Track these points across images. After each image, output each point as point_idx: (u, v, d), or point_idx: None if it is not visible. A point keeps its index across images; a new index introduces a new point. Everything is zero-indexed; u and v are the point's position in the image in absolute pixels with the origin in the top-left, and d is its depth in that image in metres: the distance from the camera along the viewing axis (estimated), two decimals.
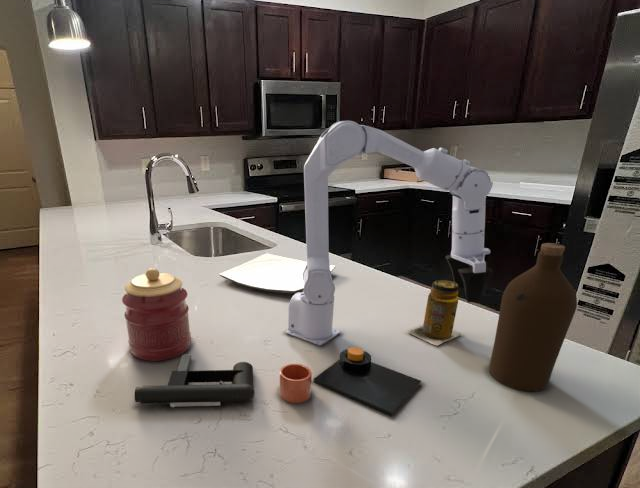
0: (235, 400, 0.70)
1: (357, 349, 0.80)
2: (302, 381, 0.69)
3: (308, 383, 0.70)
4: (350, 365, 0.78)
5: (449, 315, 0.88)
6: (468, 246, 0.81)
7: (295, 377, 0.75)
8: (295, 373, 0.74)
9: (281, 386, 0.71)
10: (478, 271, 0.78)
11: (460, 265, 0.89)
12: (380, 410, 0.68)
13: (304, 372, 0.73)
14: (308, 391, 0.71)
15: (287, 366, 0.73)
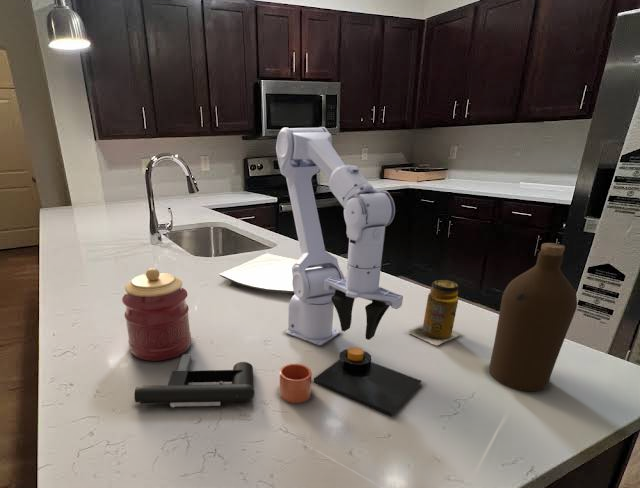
0: (235, 400, 0.70)
1: (357, 349, 0.80)
2: (302, 381, 0.69)
3: (308, 383, 0.70)
4: (350, 365, 0.78)
5: (449, 315, 0.88)
6: None
7: (295, 377, 0.75)
8: (295, 373, 0.74)
9: (281, 386, 0.71)
10: None
11: None
12: (380, 410, 0.68)
13: (304, 372, 0.73)
14: (308, 391, 0.71)
15: (287, 366, 0.73)
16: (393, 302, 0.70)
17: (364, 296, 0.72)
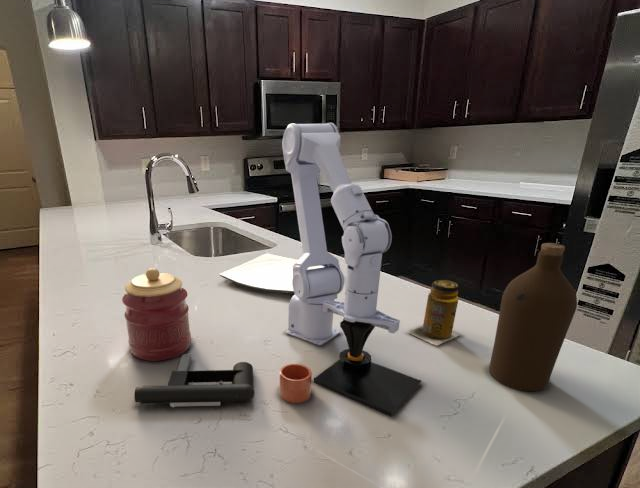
0: (235, 400, 0.70)
1: None
2: (302, 381, 0.69)
3: (308, 383, 0.70)
4: (350, 365, 0.78)
5: (449, 315, 0.88)
6: None
7: (295, 377, 0.75)
8: (295, 373, 0.74)
9: (281, 386, 0.71)
10: None
11: None
12: (380, 410, 0.68)
13: (304, 372, 0.73)
14: (308, 391, 0.71)
15: (287, 366, 0.73)
16: (390, 327, 0.72)
17: (362, 320, 0.73)
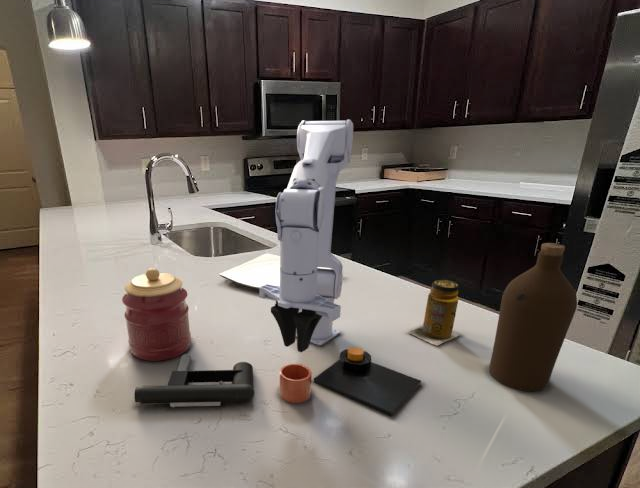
0: (235, 400, 0.70)
1: (357, 349, 0.80)
2: (302, 381, 0.69)
3: (308, 383, 0.70)
4: (350, 365, 0.78)
5: (449, 315, 0.88)
6: None
7: (295, 377, 0.75)
8: (295, 373, 0.74)
9: (281, 386, 0.71)
10: None
11: None
12: (380, 410, 0.68)
13: (304, 372, 0.73)
14: (308, 391, 0.71)
15: (287, 366, 0.73)
16: (329, 313, 0.62)
17: (297, 306, 0.63)
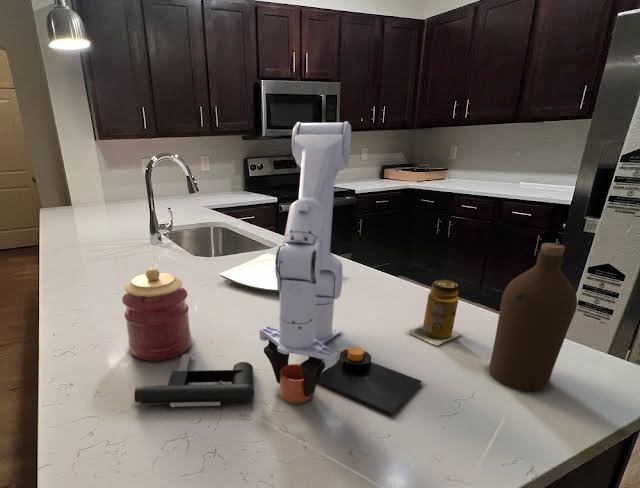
0: (235, 400, 0.70)
1: (357, 349, 0.80)
2: (302, 381, 0.69)
3: None
4: (350, 365, 0.78)
5: (449, 315, 0.88)
6: None
7: (295, 377, 0.75)
8: (295, 373, 0.74)
9: (281, 386, 0.71)
10: None
11: None
12: (380, 410, 0.68)
13: None
14: None
15: (287, 366, 0.73)
16: (326, 360, 0.65)
17: (296, 352, 0.66)
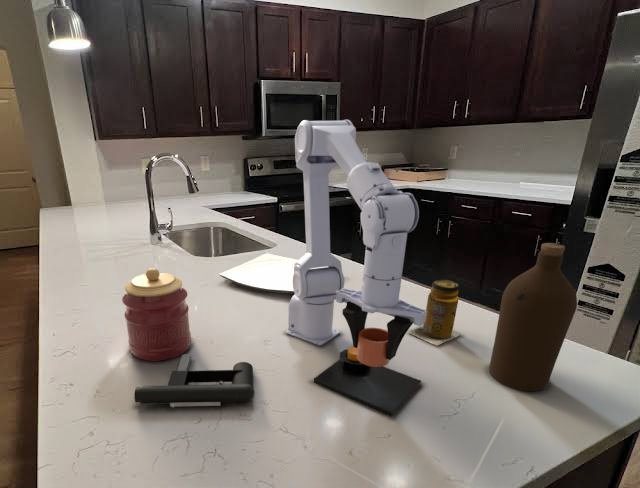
0: (235, 400, 0.70)
1: None
2: (385, 343, 0.66)
3: None
4: (350, 365, 0.78)
5: (449, 315, 0.88)
6: None
7: None
8: (372, 338, 0.72)
9: (361, 349, 0.69)
10: None
11: None
12: (380, 410, 0.68)
13: (382, 336, 0.70)
14: None
15: (365, 330, 0.71)
16: (416, 318, 0.62)
17: (383, 311, 0.64)
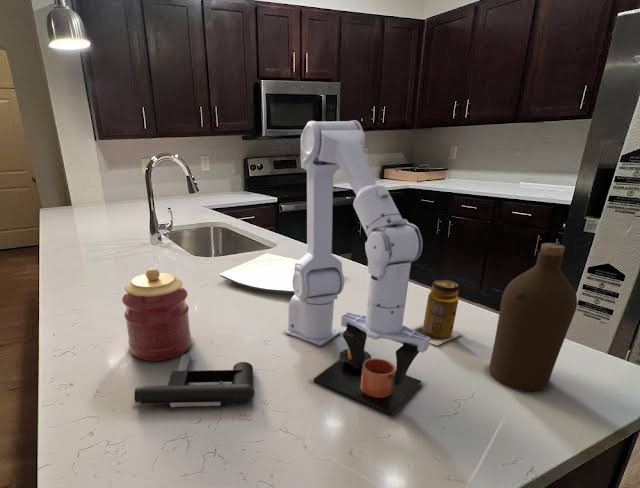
0: (235, 400, 0.70)
1: None
2: (388, 375, 0.69)
3: (393, 377, 0.70)
4: (350, 365, 0.78)
5: (449, 315, 0.88)
6: None
7: (375, 372, 0.74)
8: (375, 368, 0.74)
9: (364, 380, 0.71)
10: None
11: None
12: (380, 410, 0.68)
13: (385, 367, 0.73)
14: (392, 385, 0.71)
15: (368, 361, 0.73)
16: (419, 345, 0.64)
17: (387, 337, 0.65)
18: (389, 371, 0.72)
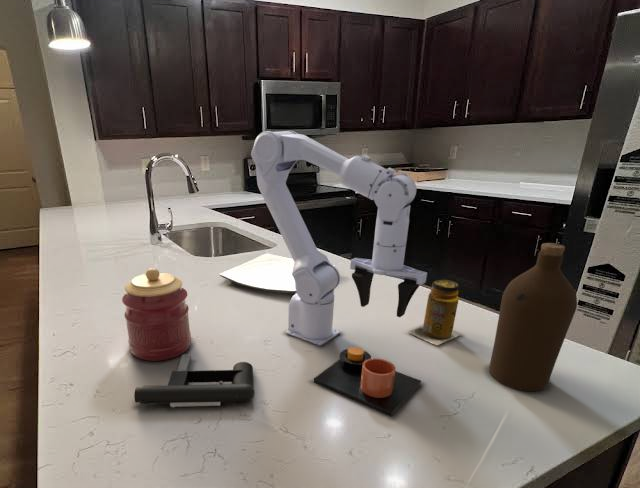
0: (235, 400, 0.70)
1: (357, 349, 0.80)
2: (388, 375, 0.69)
3: (393, 377, 0.70)
4: (350, 365, 0.78)
5: (449, 315, 0.88)
6: None
7: (375, 372, 0.74)
8: (375, 368, 0.74)
9: (364, 380, 0.71)
10: None
11: None
12: (380, 410, 0.68)
13: (385, 367, 0.73)
14: (392, 385, 0.71)
15: (368, 361, 0.73)
16: (418, 278, 0.75)
17: (390, 273, 0.76)
18: (389, 371, 0.72)
